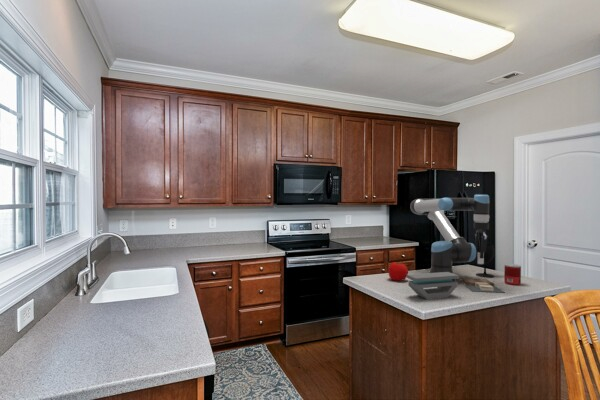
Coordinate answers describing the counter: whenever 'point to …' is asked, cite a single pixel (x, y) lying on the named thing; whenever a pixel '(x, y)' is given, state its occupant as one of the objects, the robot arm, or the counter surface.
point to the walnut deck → (472, 281)
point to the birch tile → (484, 286)
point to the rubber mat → (475, 289)
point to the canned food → (512, 274)
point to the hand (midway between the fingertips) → (480, 263)
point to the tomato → (398, 271)
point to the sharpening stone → (433, 284)
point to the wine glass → (487, 260)
